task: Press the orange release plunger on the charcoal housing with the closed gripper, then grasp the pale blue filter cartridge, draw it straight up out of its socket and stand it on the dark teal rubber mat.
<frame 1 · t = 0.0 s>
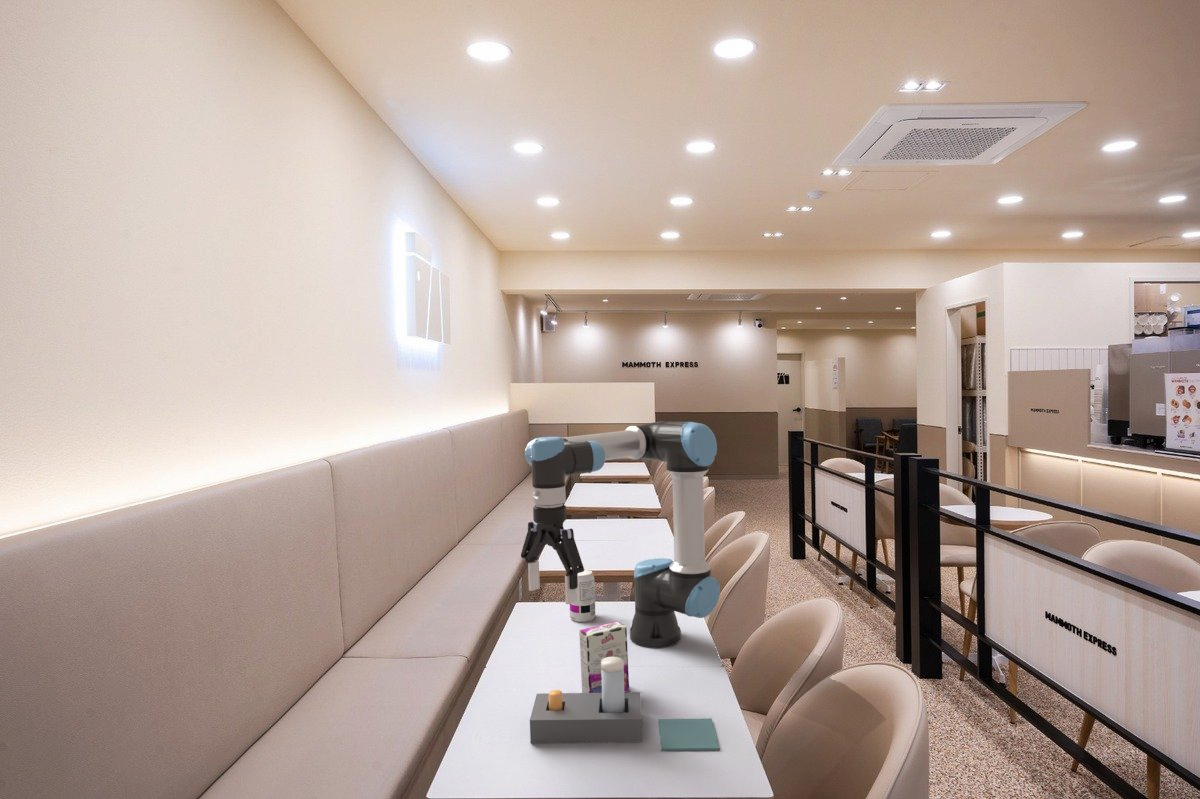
hand: (552, 595, 155), 28 cm above the table, fingers open, 13 cm apart
supplement can: (582, 618, 218), on the table
plunger: (555, 706, 150), point 5 cm above the table, slide at 0.0 cm
candy bar box: (605, 693, 166), on the table
mat: (687, 735, 146), on the table
housing: (587, 727, 150), on the table
cartridge: (614, 727, 150), resting in housing
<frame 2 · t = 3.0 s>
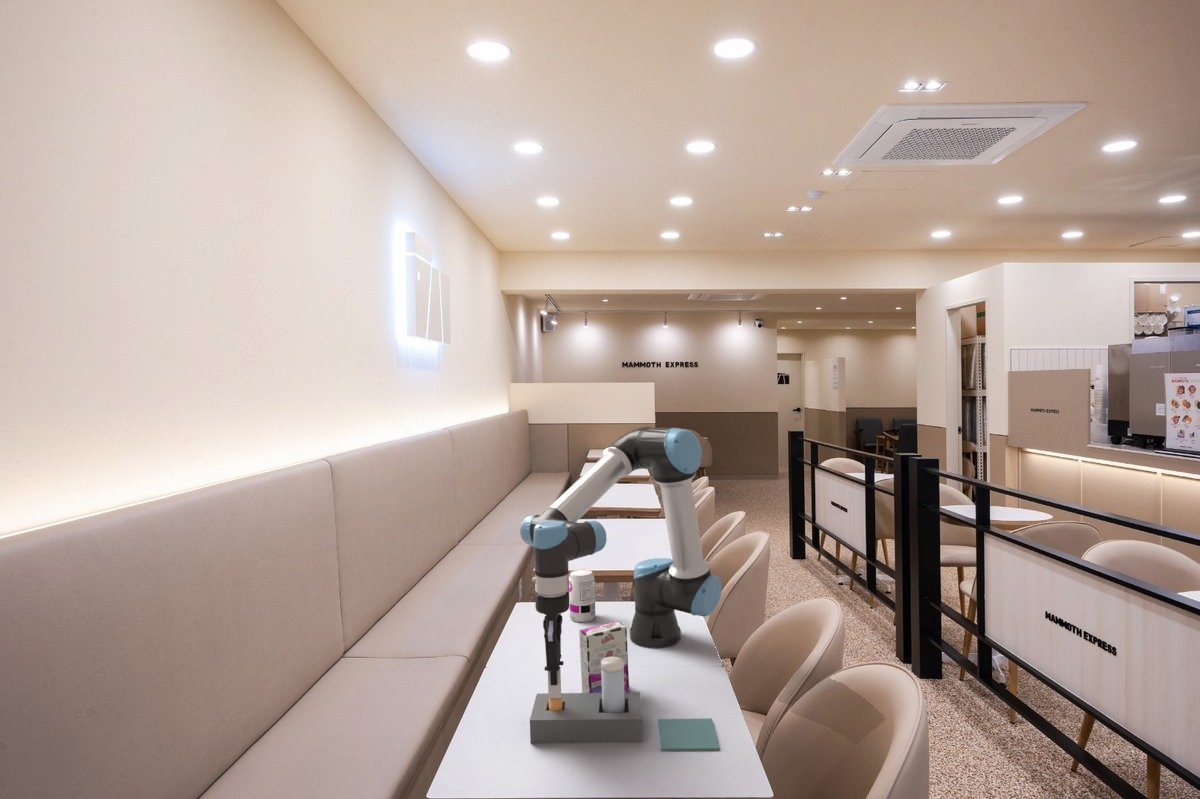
hand: (554, 696, 150), 7 cm above the table, fingers closed
plunger: (555, 710, 150), point 4 cm above the table, slide at 1.0 cm, touching gripper
everything else where it was.
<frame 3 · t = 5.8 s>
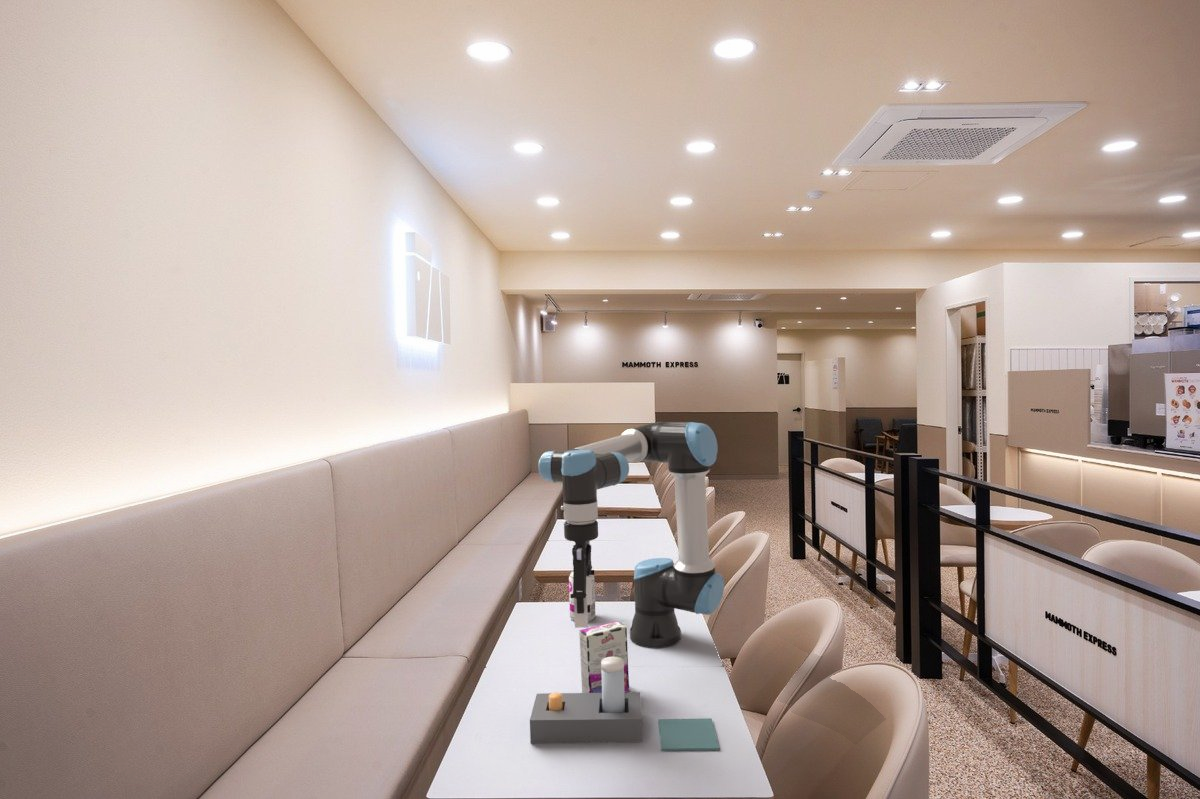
hand: (584, 615, 150), 25 cm above the table, fingers open, 13 cm apart
plunger: (555, 709, 150), point 4 cm above the table, slide at 0.7 cm
everything else where it was.
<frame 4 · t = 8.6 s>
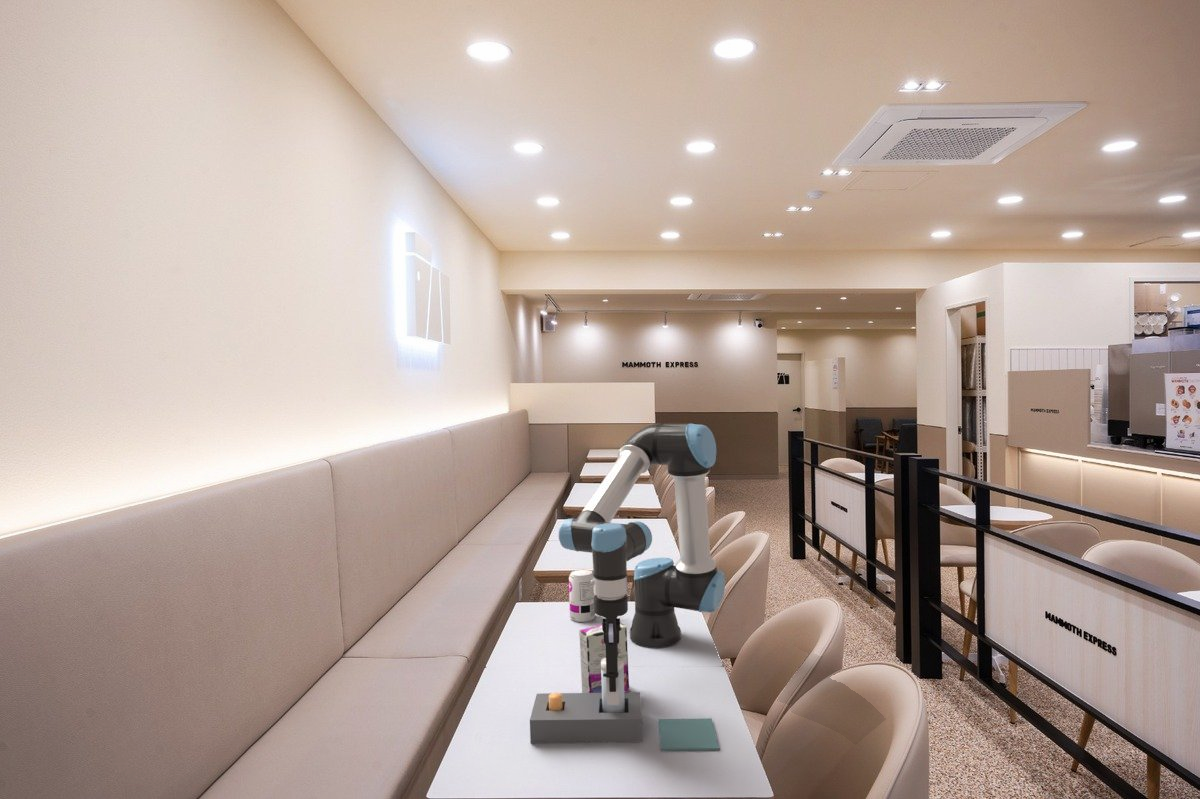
hand: (613, 697, 150), 7 cm above the table, fingers closed on cartridge, 5 cm apart
cartridge: (614, 727, 150), resting in housing, touching gripper
everything else where it was.
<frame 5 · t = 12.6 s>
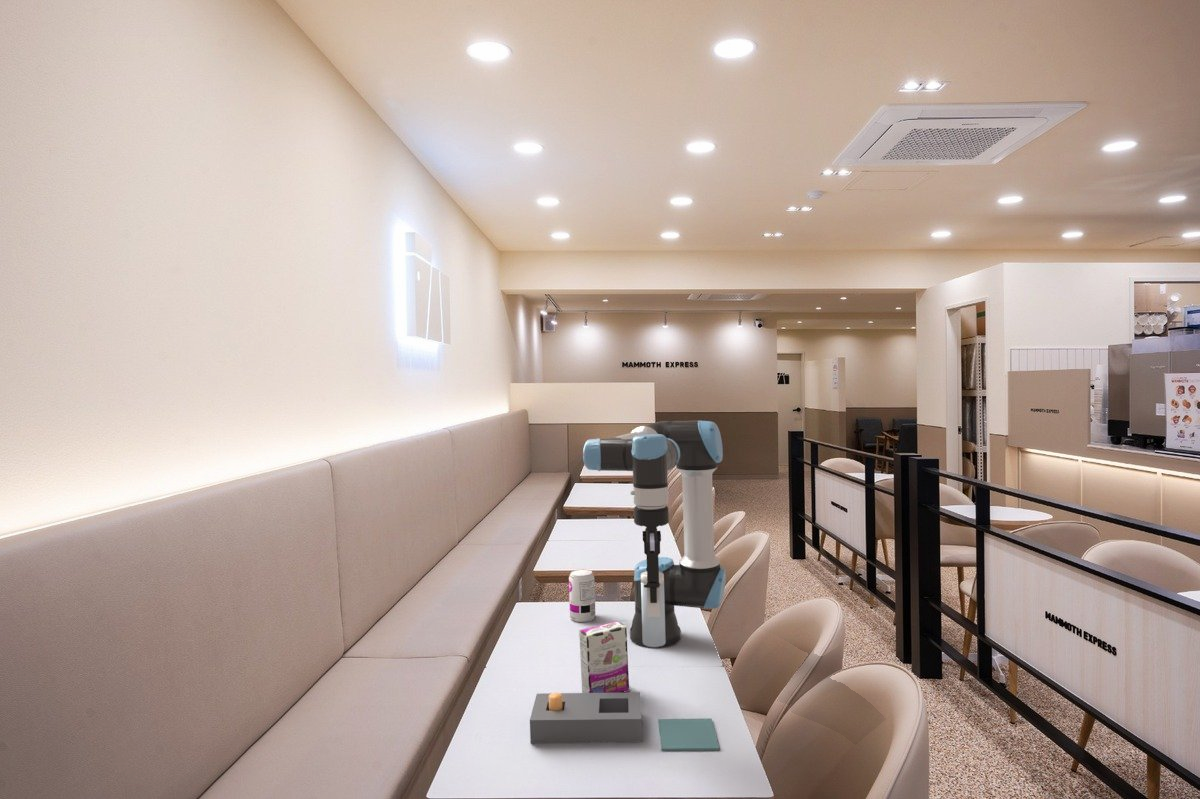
hand: (653, 611, 147), 27 cm above the table, fingers closed on cartridge, 5 cm apart
cartridge: (654, 642, 147), point 20 cm above the table, touching gripper
everything else where it was.
when the fingers open (9 cm above the table, at t = 16.8 s): cartridge drops 1 cm, resting on mat.
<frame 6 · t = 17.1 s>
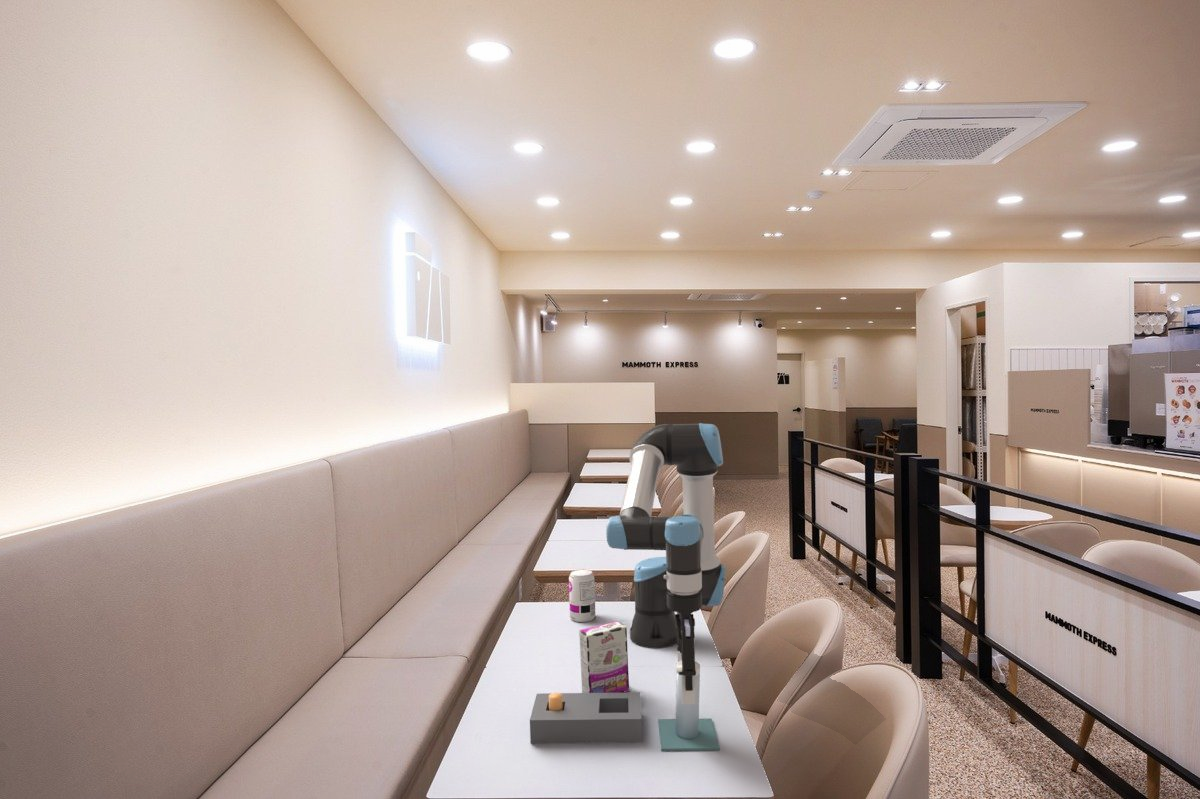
hand: (686, 692, 146), 10 cm above the table, fingers open, 9 cm apart
cartridge: (686, 732, 146), point 1 cm above the table, touching mat
everything else where it was.
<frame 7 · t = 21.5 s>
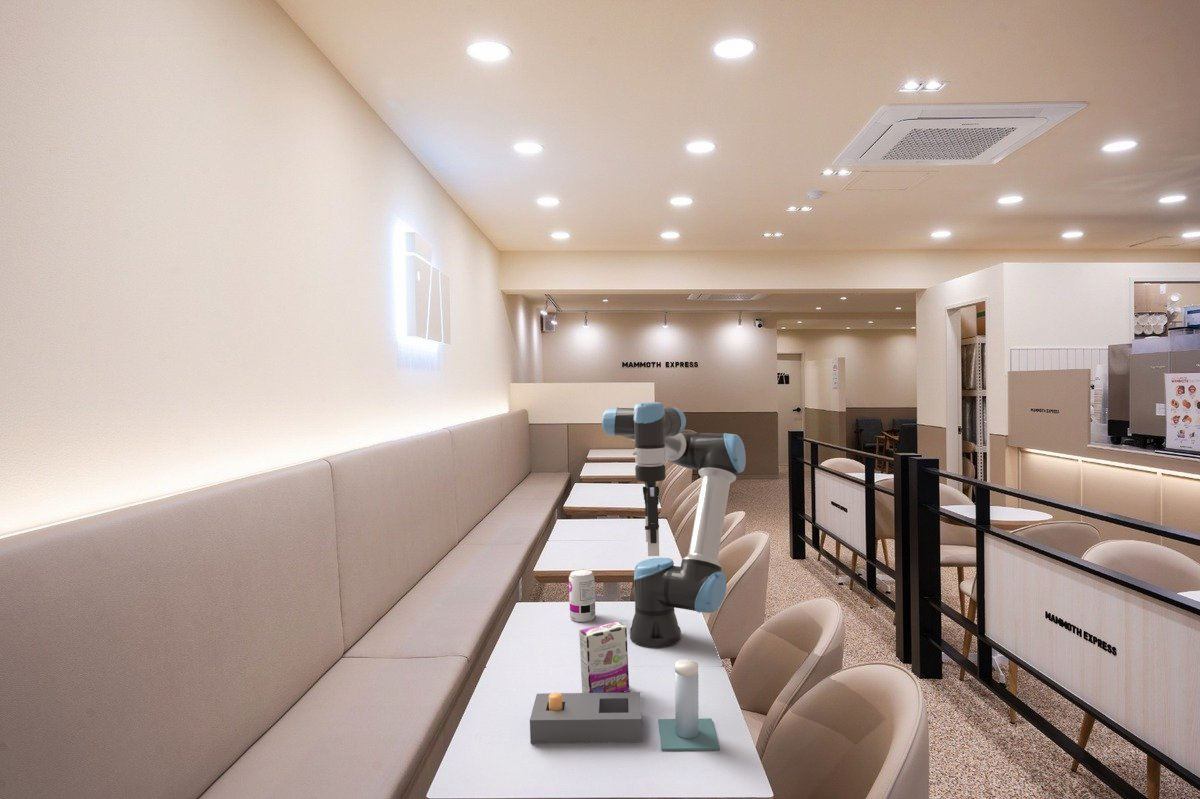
hand: (652, 548, 169), 35 cm above the table, fingers open, 13 cm apart
nothing on the table moved.
at the end: cartridge inside the target area on the mat (0.1 cm from its centre), point 0.5 cm above the mat's base; cartridge tilted 1°; the gripper is holding nothing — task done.
